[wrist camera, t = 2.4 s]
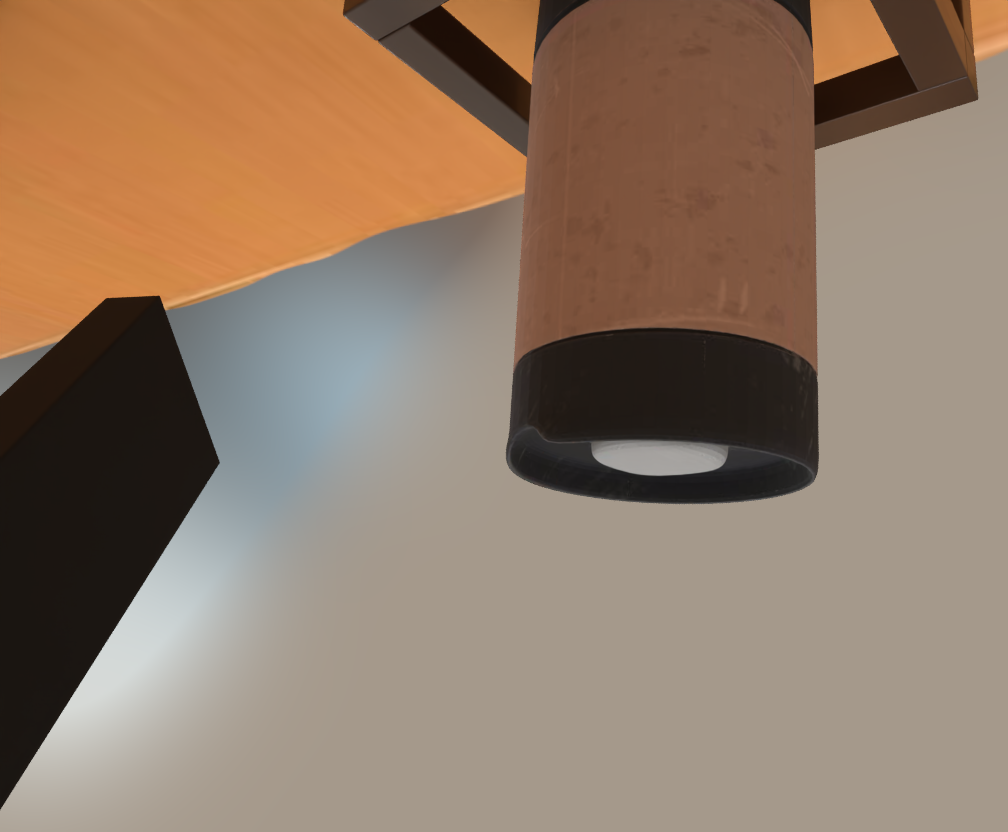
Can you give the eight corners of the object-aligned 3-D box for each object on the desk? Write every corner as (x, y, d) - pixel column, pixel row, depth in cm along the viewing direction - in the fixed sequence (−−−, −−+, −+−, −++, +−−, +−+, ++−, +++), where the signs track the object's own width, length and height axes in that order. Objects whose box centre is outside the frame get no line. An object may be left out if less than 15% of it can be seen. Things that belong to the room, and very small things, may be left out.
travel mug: (821, -103, 28) (838, 504, 23) (598, -39, 32) (568, 506, 26) (786, -344, 22) (800, 430, 16) (509, -231, 25) (447, 444, 20)
